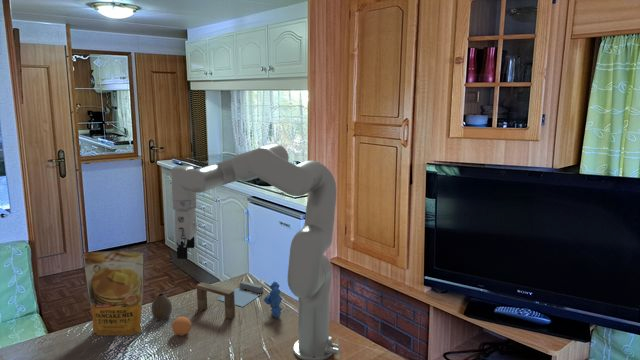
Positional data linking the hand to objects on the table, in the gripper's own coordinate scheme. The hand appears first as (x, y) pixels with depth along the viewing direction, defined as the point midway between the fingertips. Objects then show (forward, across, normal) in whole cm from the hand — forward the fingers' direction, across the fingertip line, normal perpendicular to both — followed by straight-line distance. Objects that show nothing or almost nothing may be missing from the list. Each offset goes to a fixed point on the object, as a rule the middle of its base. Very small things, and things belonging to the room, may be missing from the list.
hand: (186, 252), depth 152 cm
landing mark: (+26, +21, -15) cm, 37 cm away
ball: (+23, -6, +1) cm, 24 cm away
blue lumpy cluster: (+26, +7, -29) cm, 39 cm away
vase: (+27, +6, +11) cm, 30 cm away
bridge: (+26, +9, -8) cm, 29 cm away
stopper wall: (+26, +27, -18) cm, 42 cm away
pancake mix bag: (+27, -4, +23) cm, 35 cm away
